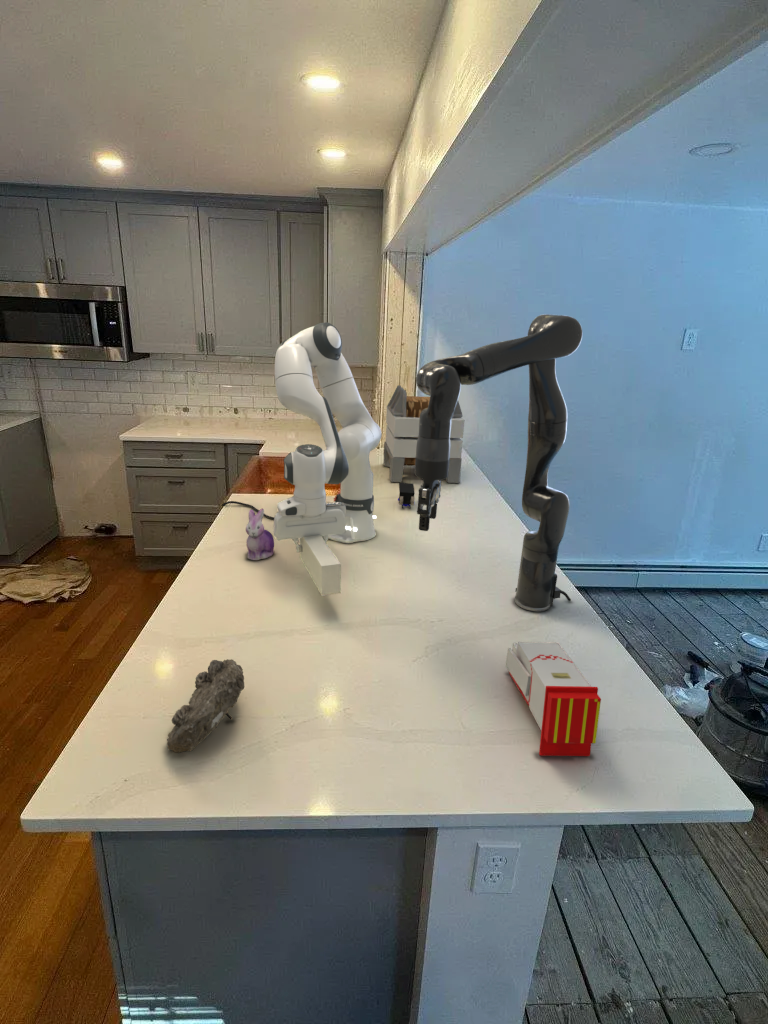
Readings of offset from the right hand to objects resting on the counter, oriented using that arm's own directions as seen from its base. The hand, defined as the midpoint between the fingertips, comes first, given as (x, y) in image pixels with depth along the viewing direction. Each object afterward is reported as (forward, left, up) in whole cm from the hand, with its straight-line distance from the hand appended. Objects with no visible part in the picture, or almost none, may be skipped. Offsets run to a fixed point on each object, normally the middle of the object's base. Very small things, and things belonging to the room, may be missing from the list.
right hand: (427, 523), depth 131 cm
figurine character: (-32, -89, -28) cm, 98 cm away
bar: (+20, -24, -22) cm, 38 cm away
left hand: (+20, -34, -19) cm, 44 cm away
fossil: (+51, +18, -28) cm, 61 cm away
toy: (-12, +34, -28) cm, 46 cm away
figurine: (+31, -54, -28) cm, 68 cm away
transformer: (-57, -131, -28) cm, 145 cm away
